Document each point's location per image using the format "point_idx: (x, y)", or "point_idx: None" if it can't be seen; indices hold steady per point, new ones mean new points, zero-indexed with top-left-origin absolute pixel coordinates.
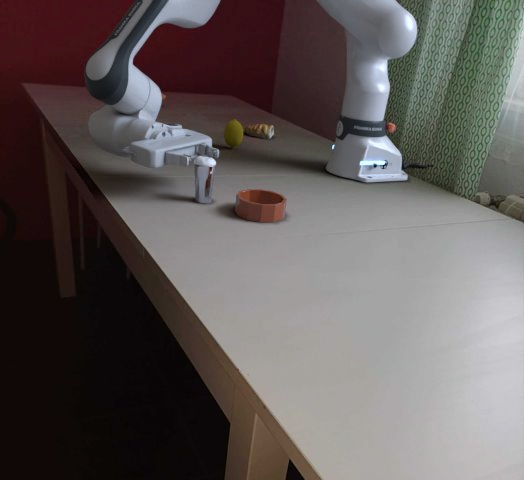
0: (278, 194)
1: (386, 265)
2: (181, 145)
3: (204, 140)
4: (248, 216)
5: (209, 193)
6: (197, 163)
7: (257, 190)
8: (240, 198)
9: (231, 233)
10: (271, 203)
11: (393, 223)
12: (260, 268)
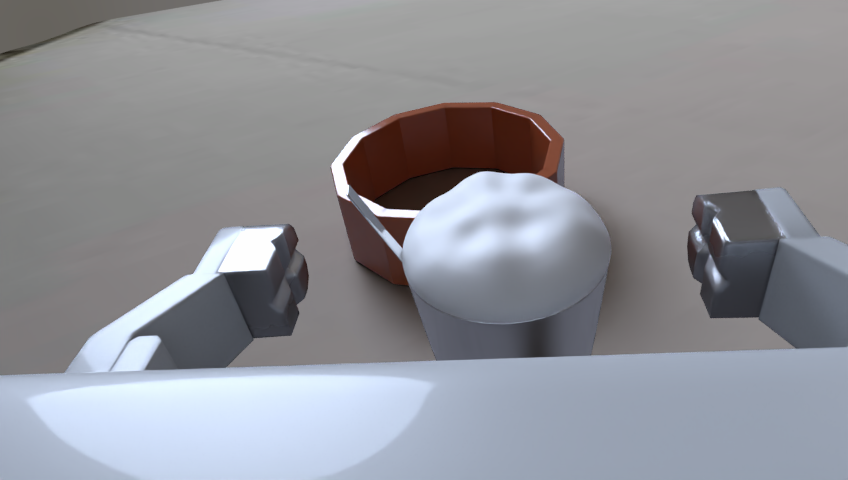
0: (356, 143)
1: (536, 9)
2: (576, 357)
3: (17, 376)
4: None
5: None
6: (608, 242)
7: (362, 196)
8: (549, 171)
9: (743, 172)
10: None
11: (260, 68)
12: (842, 55)
